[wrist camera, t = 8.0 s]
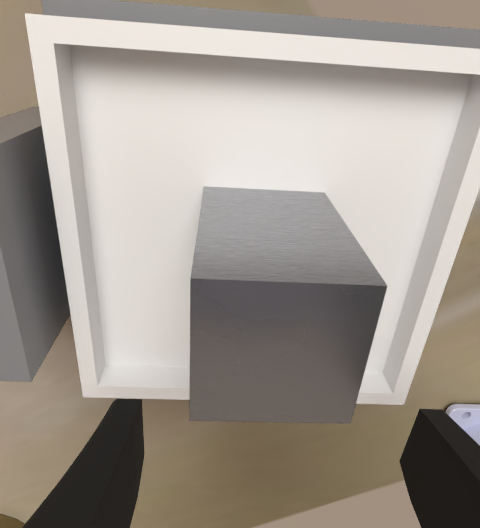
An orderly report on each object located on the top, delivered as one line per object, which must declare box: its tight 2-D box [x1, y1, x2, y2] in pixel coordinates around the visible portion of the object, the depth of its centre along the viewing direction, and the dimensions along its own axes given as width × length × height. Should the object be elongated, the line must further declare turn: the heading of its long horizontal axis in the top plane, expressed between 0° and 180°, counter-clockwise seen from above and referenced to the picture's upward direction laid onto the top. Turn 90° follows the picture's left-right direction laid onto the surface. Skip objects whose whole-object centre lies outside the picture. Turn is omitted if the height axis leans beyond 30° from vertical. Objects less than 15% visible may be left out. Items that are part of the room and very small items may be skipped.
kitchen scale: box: [0, 0, 480, 405], centre depth 15 cm, size 16×14×7 cm
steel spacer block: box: [189, 186, 387, 423], centre depth 12 cm, size 4×4×6 cm
